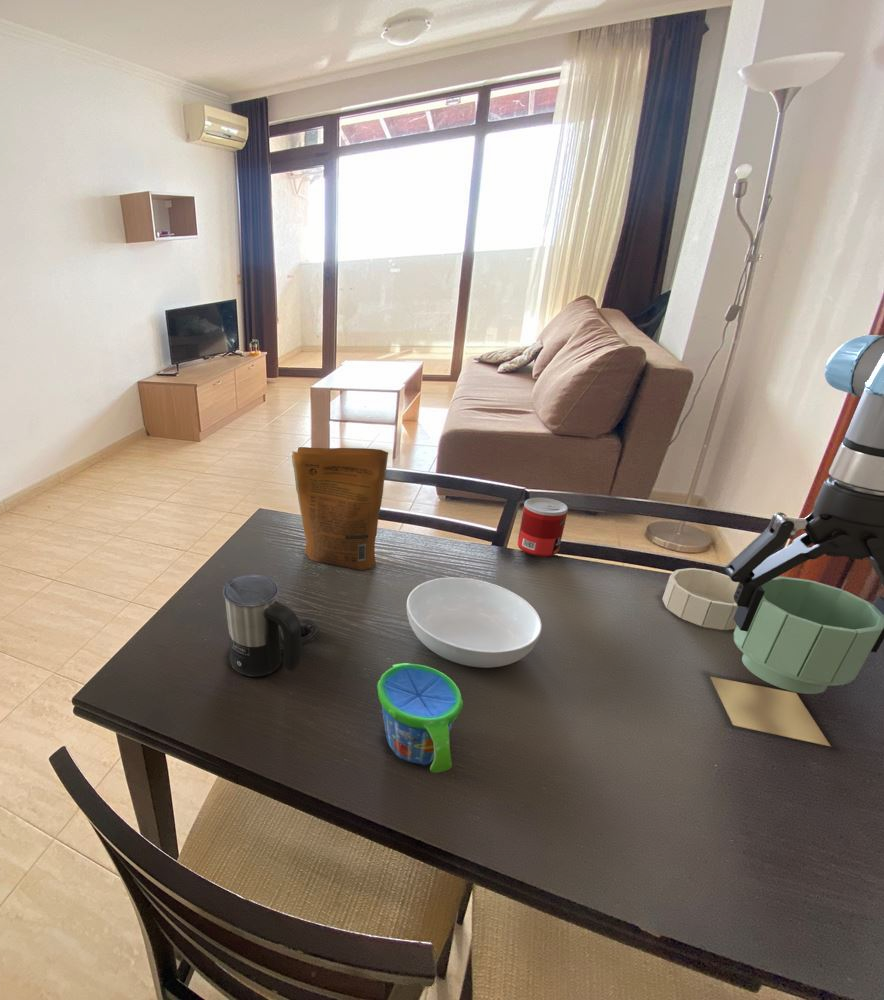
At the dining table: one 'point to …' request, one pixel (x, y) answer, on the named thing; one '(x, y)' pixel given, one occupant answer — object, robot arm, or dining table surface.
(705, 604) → the cream bowl
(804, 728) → the placemat
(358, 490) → the pancake mix bag
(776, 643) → the green bowl
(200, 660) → the dining table surface
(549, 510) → the canned food
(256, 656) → the milk frother
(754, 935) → the dining table surface
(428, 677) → the snack cup
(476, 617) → the serving bowl
